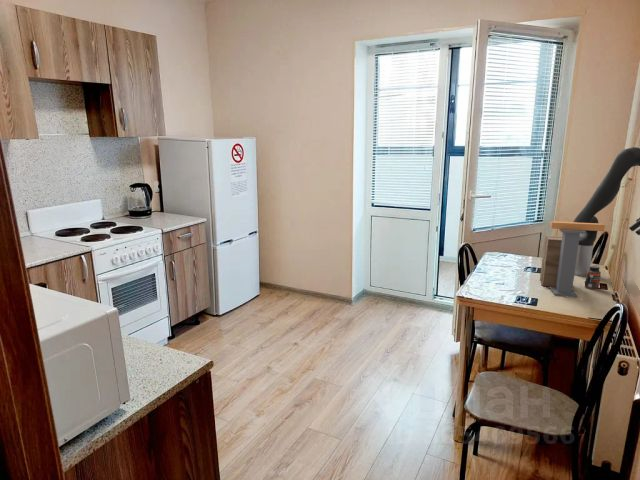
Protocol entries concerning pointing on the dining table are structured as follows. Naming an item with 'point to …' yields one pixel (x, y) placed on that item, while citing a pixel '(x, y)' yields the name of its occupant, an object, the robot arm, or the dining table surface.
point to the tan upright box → (550, 260)
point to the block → (577, 226)
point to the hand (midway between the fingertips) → (633, 231)
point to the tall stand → (567, 263)
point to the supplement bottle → (593, 277)
